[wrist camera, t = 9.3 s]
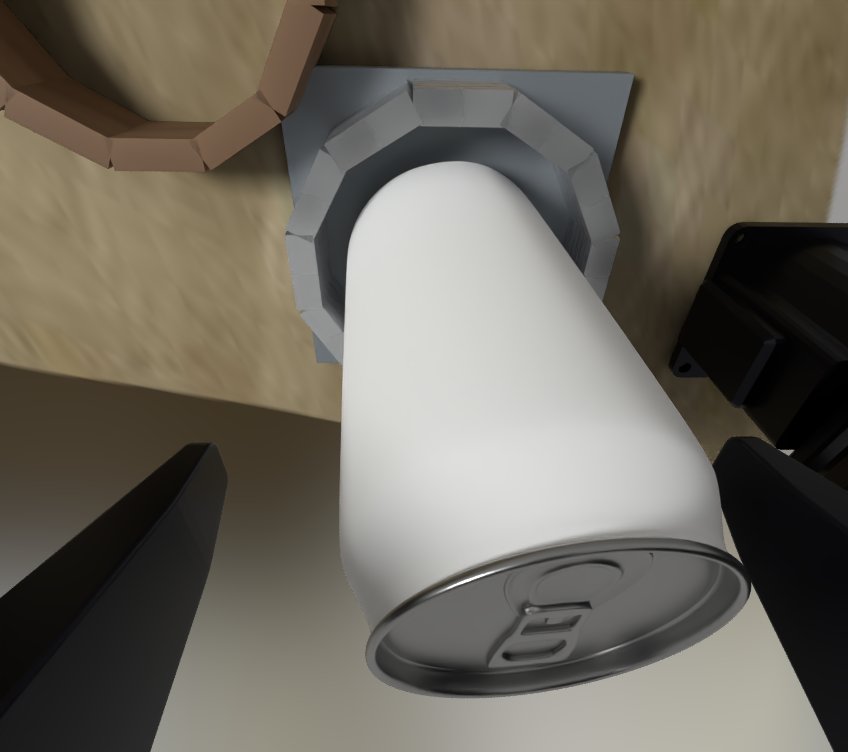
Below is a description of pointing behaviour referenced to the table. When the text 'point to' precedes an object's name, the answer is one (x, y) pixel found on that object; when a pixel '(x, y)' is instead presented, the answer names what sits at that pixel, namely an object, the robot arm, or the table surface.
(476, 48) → the table surface
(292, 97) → the brown segmented ring
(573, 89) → the dock
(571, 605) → the can
